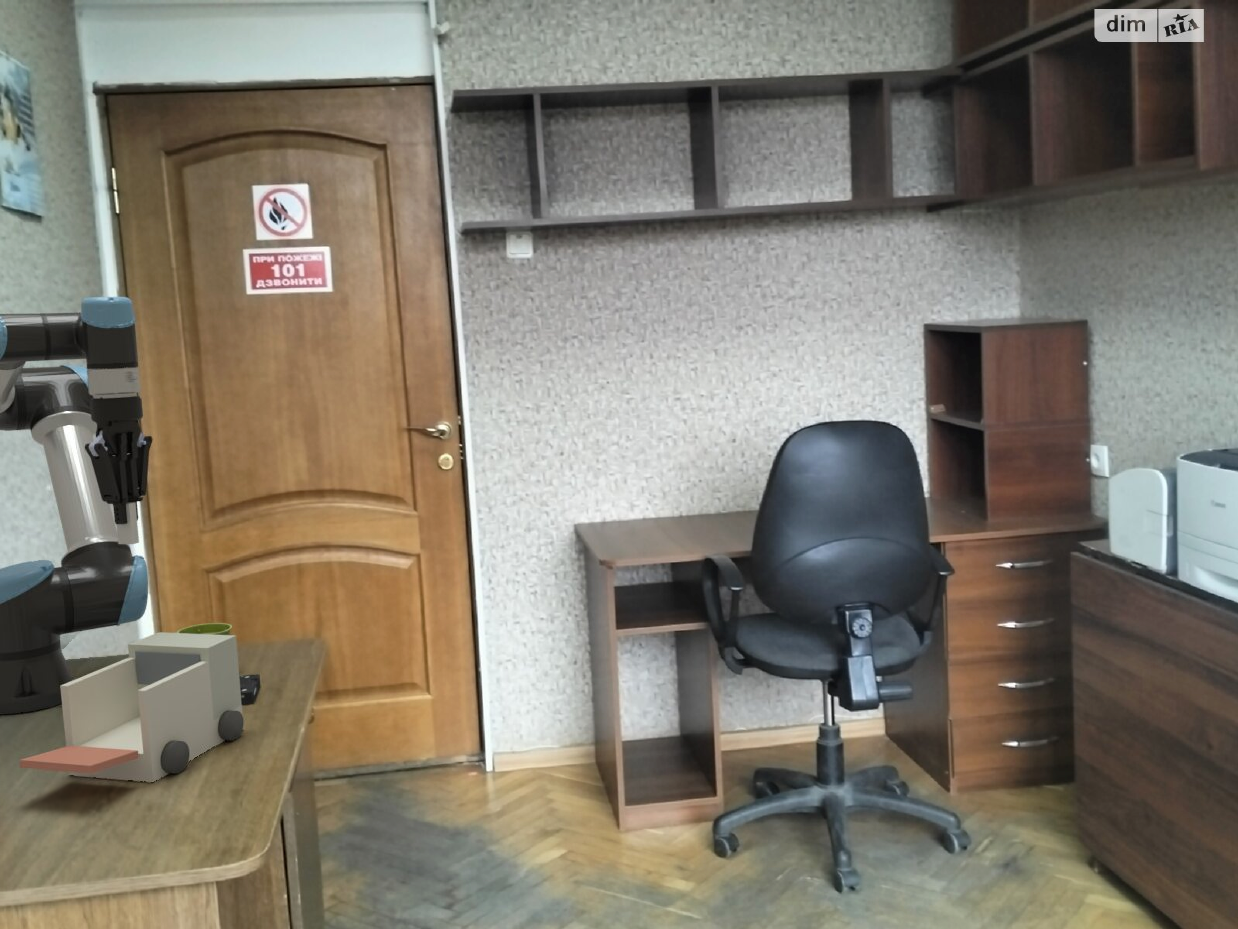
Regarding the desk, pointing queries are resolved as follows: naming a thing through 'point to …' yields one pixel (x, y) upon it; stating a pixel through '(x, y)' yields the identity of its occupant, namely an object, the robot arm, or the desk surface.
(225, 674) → the truck
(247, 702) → the disk drive
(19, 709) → the robot arm
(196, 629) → the plant pot
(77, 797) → the desk surface
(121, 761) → the panel
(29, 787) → the desk surface
